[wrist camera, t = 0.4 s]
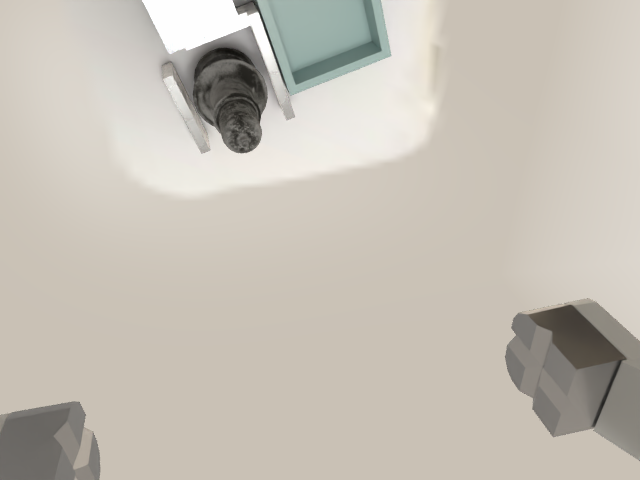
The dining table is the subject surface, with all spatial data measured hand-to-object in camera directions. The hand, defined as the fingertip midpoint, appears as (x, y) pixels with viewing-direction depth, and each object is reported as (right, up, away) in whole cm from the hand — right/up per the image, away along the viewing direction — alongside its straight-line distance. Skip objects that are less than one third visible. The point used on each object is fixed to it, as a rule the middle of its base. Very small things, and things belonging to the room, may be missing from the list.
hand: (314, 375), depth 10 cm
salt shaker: (-8, +16, +34) cm, 38 cm away
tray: (0, +21, +32) cm, 38 cm away
